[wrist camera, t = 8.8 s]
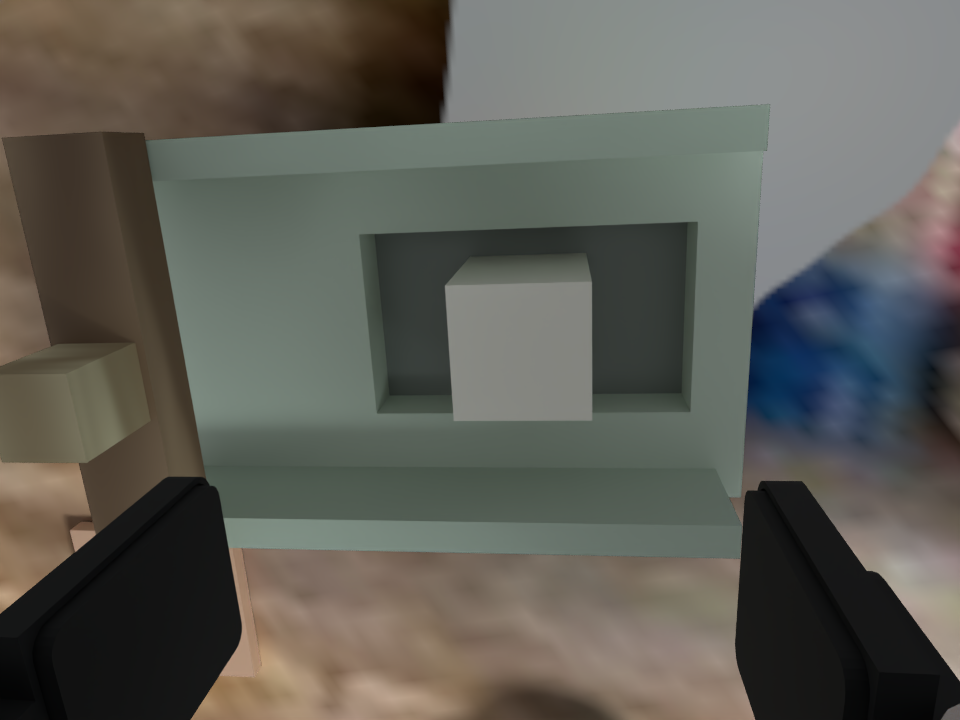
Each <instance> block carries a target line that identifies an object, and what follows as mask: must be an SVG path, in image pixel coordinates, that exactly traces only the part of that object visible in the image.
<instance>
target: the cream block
mask: <svg viewBox="0 0 960 720" xmlns="http://www.w3.org/2000/svg"><path fill="white" fill-rule="evenodd" d="M445 295H446V310H447V326H448V341H449V356H450V372H451V387H452V402H453V417H454V421H592V280H591V275H590V270H589V265H588V260H587V255H586V253H568V254H537V255H507V256H477V257H469V259H468V260H467V261H466V262H465V263H464V264H463V265H462V267H461V268H460V269H459V270H458V271H457V272H456V273H455V275H454V276H453V277H452V278H451V279H450V280H449V282H448V283H447V284H446V285H445Z"/></svg>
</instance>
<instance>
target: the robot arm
mask: <svg viewBox="0 0 960 720" xmlns="http://www.w3.org/2000/svg"><path fill="white" fill-rule="evenodd" d="M241 635H242V621H241V615H240V610H239V604H238V598H237V593H236V587H235V581H234V575H233V570H232V564H231V558H230V553H229V547H228V541H227V536H226V530H225V524H224V518H223V513H222V507H221V501H220V496H219V492H218V490H217V488H216V487H215V486H210V485H209V483H208V481H207V480H206V479H205V478H204V477H166V478H165V479H163V480H162V481H161V482H159V483H158V484H157V485H156V486H155V487H153V488H152V489H151V490H150V491H148V492H147V493H146V494H145V495H144V496H142V497H141V498H140V499H139V500H138V501H136V502H135V503H134V504H133V505H132V506H130V507H129V508H128V509H127V510H125V511H124V512H123V513H122V514H121V515H119V516H118V517H117V518H116V519H115V520H113V521H112V522H111V523H110V524H109V525H107V526H106V527H105V528H104V529H102V530H101V531H100V532H99V533H98V534H96V535H95V536H94V537H93V538H92V539H90V540H89V541H88V542H87V543H86V544H84V545H83V546H82V547H81V548H79V549H78V550H77V551H76V552H75V553H73V554H72V555H71V556H70V557H69V558H67V559H66V560H65V561H64V562H63V563H61V564H60V565H59V566H58V567H56V568H55V569H54V570H53V571H52V572H50V573H49V574H48V575H47V576H46V577H44V578H43V579H42V580H41V581H40V582H38V583H37V584H36V585H35V586H33V587H32V588H31V589H30V590H29V591H27V592H26V593H25V594H24V595H23V596H21V597H20V598H19V599H18V600H17V601H15V602H14V603H13V604H12V605H10V606H9V607H8V608H7V609H6V610H4V611H3V612H2V613H1V614H0V720H190V719H191V718H192V716H193V715H194V713H195V712H196V710H197V709H198V707H199V706H200V704H201V703H202V701H203V700H204V698H205V697H206V695H207V693H208V692H209V690H210V689H211V687H212V686H213V684H214V683H215V681H216V680H217V678H218V677H219V675H220V674H221V672H222V671H223V669H224V668H225V666H226V664H227V663H228V661H229V660H230V658H231V657H232V655H233V654H234V652H235V651H236V649H237V647H238V645H239V643H240V640H241ZM735 649H736V659H737V664H738V668H739V672H740V675H741V678H742V681H743V684H744V687H745V690H746V693H747V696H748V699H749V702H750V705H751V708H752V711H753V714H754V717H755V720H960V681H959V680H958V678H957V677H956V676H955V674H954V673H953V672H952V670H951V669H950V667H949V666H948V665H947V663H946V662H945V661H944V659H943V658H942V657H941V655H940V654H939V653H938V651H937V650H936V649H935V647H934V646H933V645H932V643H931V642H930V640H929V639H928V638H927V636H926V635H925V634H924V632H923V631H922V630H921V628H920V627H919V626H918V624H917V623H916V622H915V620H914V619H913V617H912V616H911V615H910V613H909V612H908V611H907V609H906V608H905V607H904V605H903V604H902V603H901V601H900V600H899V599H898V597H897V596H896V594H895V593H894V592H893V590H892V589H891V588H890V586H889V585H888V584H887V582H886V581H885V580H884V579H883V578H882V577H881V576H880V575H879V574H878V573H876V572H873V571H866V570H865V568H864V567H863V565H862V564H861V563H860V561H859V560H858V558H857V557H856V556H855V554H854V553H853V551H852V550H851V549H850V547H849V546H848V544H847V543H846V541H845V540H844V539H843V537H842V536H841V534H840V533H839V532H838V530H837V529H836V527H835V526H834V525H833V523H832V522H831V520H830V519H829V518H828V516H827V515H826V513H825V512H824V511H823V509H822V508H821V506H820V505H819V504H818V502H817V501H816V499H815V498H814V497H813V495H812V494H811V492H810V491H809V490H808V488H807V487H806V485H805V484H804V483H803V482H802V481H761V482H760V484H759V487H758V491H747V492H746V495H745V503H744V518H743V533H742V548H741V563H740V578H739V593H738V608H737V623H736V638H735Z"/></svg>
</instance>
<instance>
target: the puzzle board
mask: <svg viewBox="0 0 960 720" xmlns="http://www.w3.org/2000/svg"><path fill="white" fill-rule="evenodd" d="M769 114H770V104H766V105H749V106H733V107H713V108H697V109H679V110H662V111H645V112H628V113H610V114H594V115H575V116H558V117H542V118H525V119H508V120H507V119H506V120H489V121H472V122H454V123H437V124H420V125H403V126H385V127H368V128H351V129H334V130H316V131H299V132H282V133H264V134H247V135H230V136H213V137H195V138H178V139H161V140H145V142H146V148H147V153H148V159H149V164H150V170H151V175H152V181H153V187H154V192H155V198H156V203H157V209H158V214H159V220H160V225H161V231H162V236H163V242H164V248H165V253H166V259H167V264H168V270H169V275H170V281H171V286H172V292H173V298H174V303H175V309H176V314H177V320H178V325H179V331H180V336H181V342H182V347H183V353H184V359H185V364H186V370H187V375H188V381H189V386H190V392H191V397H192V403H193V409H194V414H195V420H196V425H197V431H198V436H199V442H200V447H201V453H202V459H203V464H204V470H205V475H206V480H207V481H208V483H209V485H210V486H215V487H216V488H217V490H218V492H219V496H220V501H221V507H222V513H223V518H224V524H225V530H226V536H227V541H228V547H229V548H261V549H308V550H356V551H403V552H450V553H497V554H544V555H591V556H639V557H686V558H733V559H740V553H741V538H742V524H741V522H740V520H739V518H738V516H737V514H736V512H735V510H734V507H733V505H732V503H731V501H730V499H729V497H741V488H742V473H743V457H744V442H745V426H746V411H747V396H748V380H749V365H750V349H751V334H752V318H753V303H754V287H755V272H756V256H757V240H758V225H759V210H760V194H761V179H762V162H763V151H767V145H768V144H767V143H768V129H769ZM568 253H586V255H587V260H588V265H589V270H590V275H591V280H592V421H454V417H453V402H452V387H451V372H450V356H449V341H448V326H447V310H446V295H445V285H446V284H447V283H448V282H449V280H450V279H451V278H452V277H453V276H454V275H455V273H456V272H457V271H458V270H459V269H460V268H461V267H462V265H463V264H464V263H465V262H466V261H467V260H468V259H469V257H477V256H507V255H537V254H568Z"/></svg>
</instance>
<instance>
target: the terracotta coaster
mask: <svg viewBox="0 0 960 720" xmlns="http://www.w3.org/2000/svg"><path fill="white" fill-rule="evenodd" d="M70 533H71V537H72V541H73V545H74V549H75V552H76V551H77V550H78V549H79V548H81V547H82V546H83V545H84V544H86V543H87V542H88V541H89V540H90V539H92V538H93V537H94V536H95V535H96V533H95V529H94V525H93V522H80V523H79V524H77V525H76V526H75V527H73V528H72V529H71V530H70ZM229 553H230V558H231V564H232V570H233V575H234V581H235V587H236V593H237V598H238V604H239V610H240V615H241V621H242V635H241V640H240V643H239V645H238V647H237V649H236V651H235V652H234V654H233V655H232V657H231V658H230V660H229V661H228V663H227V664H226V666H225V668H224V669H223V671H222V672H221V674H220V675H219V676H240V677H255V676H256V674H257V672H258V671H259V669H260V667H261V660H260V654H259V648H258V642H257V636H256V630H255V624H254V618H253V612H252V606H251V601H250V595H249V589H248V583H247V577H246V571H245V565H244V559H243V553H242V548H229Z"/></svg>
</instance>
